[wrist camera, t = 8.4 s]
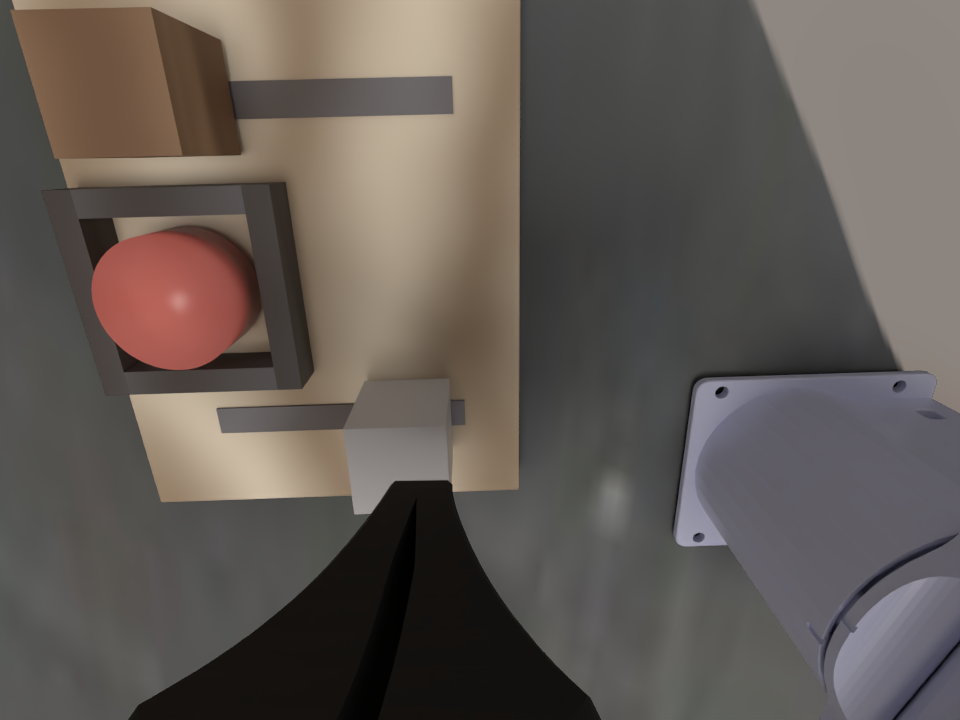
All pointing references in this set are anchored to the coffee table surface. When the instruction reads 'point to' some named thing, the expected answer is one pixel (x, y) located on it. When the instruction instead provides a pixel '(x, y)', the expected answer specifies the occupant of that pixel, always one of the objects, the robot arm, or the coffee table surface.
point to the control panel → (328, 239)
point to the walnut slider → (127, 83)
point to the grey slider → (397, 437)
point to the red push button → (175, 296)
